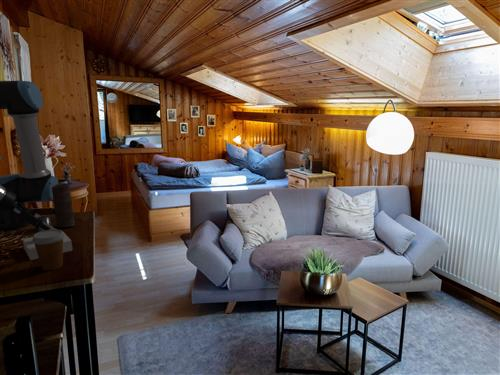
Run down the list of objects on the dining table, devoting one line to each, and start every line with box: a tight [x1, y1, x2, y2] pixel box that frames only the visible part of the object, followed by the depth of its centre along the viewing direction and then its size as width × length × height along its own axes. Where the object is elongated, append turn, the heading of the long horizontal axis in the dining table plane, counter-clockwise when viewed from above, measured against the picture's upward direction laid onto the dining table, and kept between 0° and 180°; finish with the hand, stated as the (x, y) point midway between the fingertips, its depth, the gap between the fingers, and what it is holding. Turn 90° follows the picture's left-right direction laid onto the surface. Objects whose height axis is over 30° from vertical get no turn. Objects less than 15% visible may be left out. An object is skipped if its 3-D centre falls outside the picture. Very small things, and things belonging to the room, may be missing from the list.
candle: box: [52, 183, 76, 228], centre depth 162 cm, size 8×7×20 cm
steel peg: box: [38, 215, 52, 232], centre depth 137 cm, size 4×4×13 cm
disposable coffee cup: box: [32, 229, 64, 271], centre depth 122 cm, size 10×10×12 cm
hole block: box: [22, 230, 73, 261], centre depth 138 cm, size 14×14×4 cm
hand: (52, 229), depth 138 cm, fingers open, 13 cm apart
